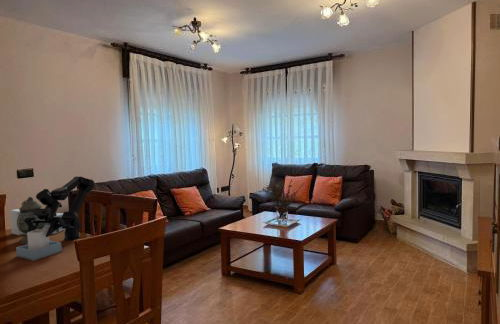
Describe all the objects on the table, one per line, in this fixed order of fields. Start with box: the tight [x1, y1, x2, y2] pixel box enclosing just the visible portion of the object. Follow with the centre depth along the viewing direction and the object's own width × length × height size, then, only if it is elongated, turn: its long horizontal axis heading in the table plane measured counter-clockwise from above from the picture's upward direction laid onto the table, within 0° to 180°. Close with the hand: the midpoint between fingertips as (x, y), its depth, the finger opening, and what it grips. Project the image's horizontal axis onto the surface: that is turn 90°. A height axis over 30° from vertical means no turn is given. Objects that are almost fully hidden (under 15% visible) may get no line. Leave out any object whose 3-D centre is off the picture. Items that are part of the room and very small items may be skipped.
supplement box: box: [10, 208, 25, 236], centre depth 205 cm, size 9×9×15 cm
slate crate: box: [15, 240, 63, 262], centre depth 164 cm, size 14×14×4 cm
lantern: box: [17, 196, 45, 244], centre depth 189 cm, size 14×14×25 cm
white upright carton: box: [27, 228, 50, 251], centre depth 164 cm, size 6×6×11 cm
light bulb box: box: [43, 212, 65, 235], centre depth 206 cm, size 11×7×11 cm, turn 168°
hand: (37, 236), depth 163 cm, fingers open, 9 cm apart
